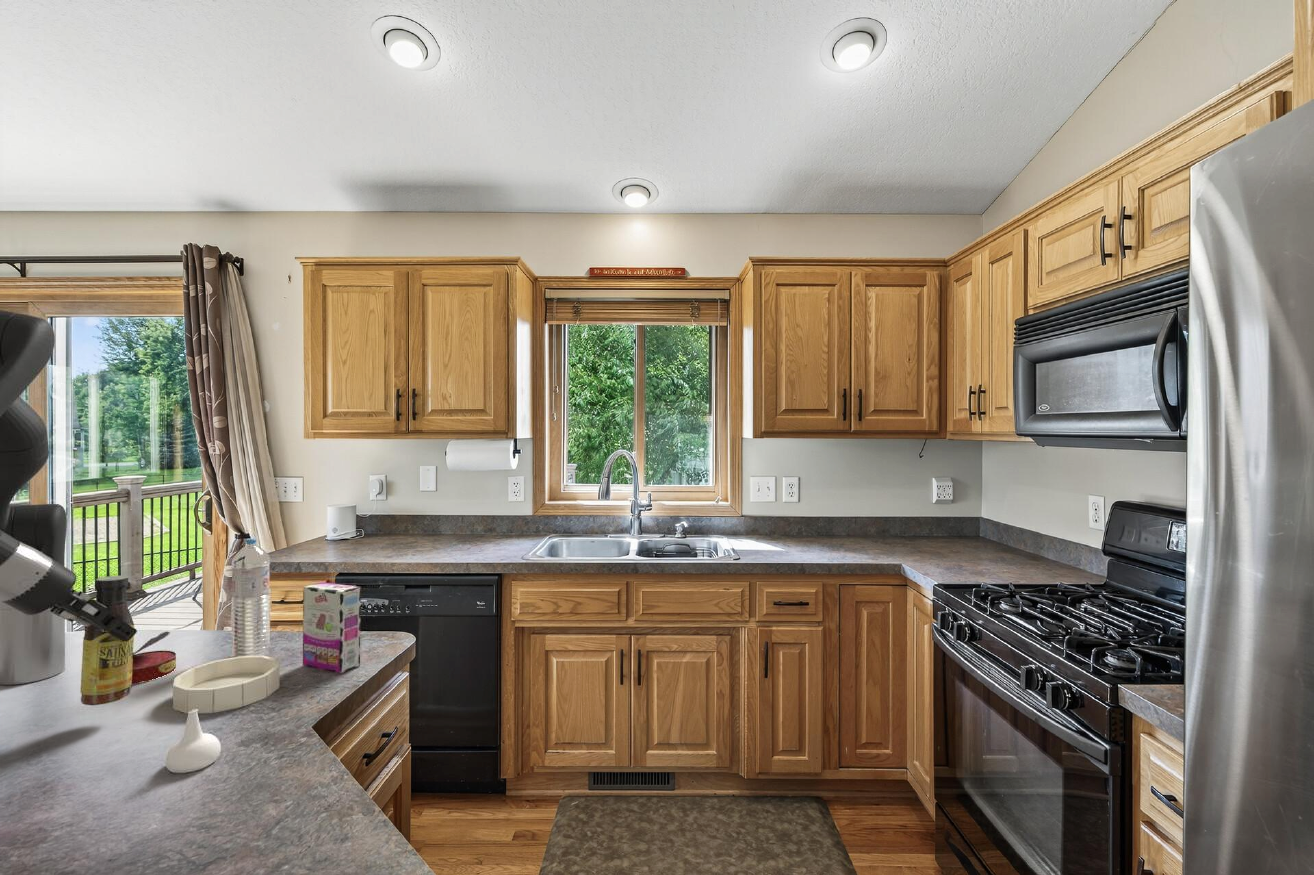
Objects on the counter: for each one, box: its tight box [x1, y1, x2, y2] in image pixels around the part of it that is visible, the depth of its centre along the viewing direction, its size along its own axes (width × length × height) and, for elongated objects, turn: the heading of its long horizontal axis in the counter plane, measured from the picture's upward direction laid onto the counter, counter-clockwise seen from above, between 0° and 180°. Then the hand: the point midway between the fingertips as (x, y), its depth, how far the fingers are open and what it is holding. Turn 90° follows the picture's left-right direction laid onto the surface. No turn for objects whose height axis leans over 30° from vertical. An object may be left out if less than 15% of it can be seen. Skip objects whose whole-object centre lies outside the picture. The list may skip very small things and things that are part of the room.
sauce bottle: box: [80, 575, 135, 706], centre depth 99 cm, size 7×6×20 cm
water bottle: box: [230, 538, 271, 658], centre depth 128 cm, size 7×7×25 cm
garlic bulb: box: [165, 709, 222, 774], centre depth 88 cm, size 6×6×8 cm
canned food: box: [131, 631, 177, 685], centre depth 119 cm, size 11×10×10 cm
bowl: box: [172, 655, 280, 714], centre depth 110 cm, size 16×16×4 cm
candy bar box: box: [302, 581, 362, 674], centre depth 124 cm, size 11×5×16 cm, turn 68°
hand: (120, 632), depth 101 cm, fingers closed on sauce bottle, 6 cm apart
